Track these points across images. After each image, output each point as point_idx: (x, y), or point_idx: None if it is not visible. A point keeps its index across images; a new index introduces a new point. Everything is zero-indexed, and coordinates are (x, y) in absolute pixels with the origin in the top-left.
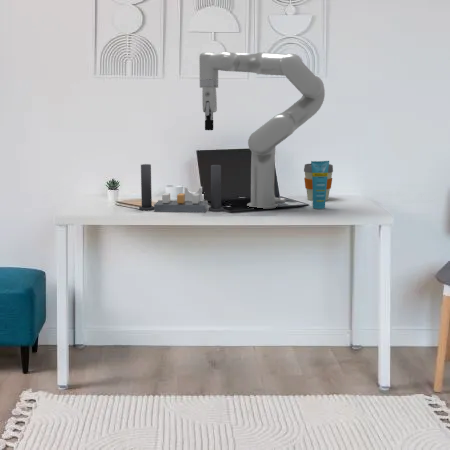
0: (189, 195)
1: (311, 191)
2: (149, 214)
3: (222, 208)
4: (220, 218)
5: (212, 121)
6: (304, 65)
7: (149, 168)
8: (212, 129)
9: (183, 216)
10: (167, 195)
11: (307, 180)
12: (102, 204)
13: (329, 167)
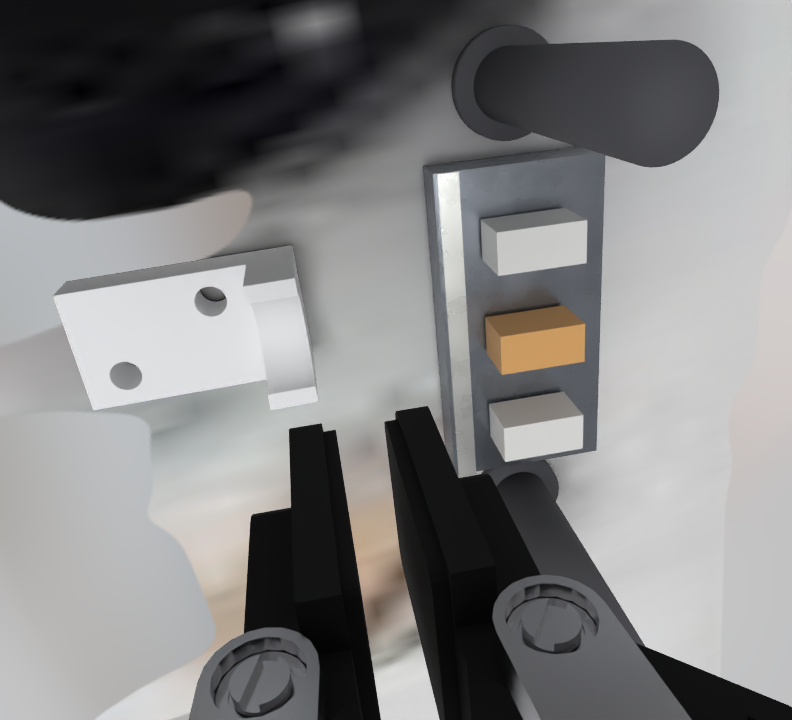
0: (309, 344)
1: None
2: (658, 424)
3: (524, 30)
4: None
5: (480, 545)
6: None
7: (635, 641)
8: (426, 413)
9: (717, 237)
10: (582, 417)
11: None
12: (401, 708)
13: None
